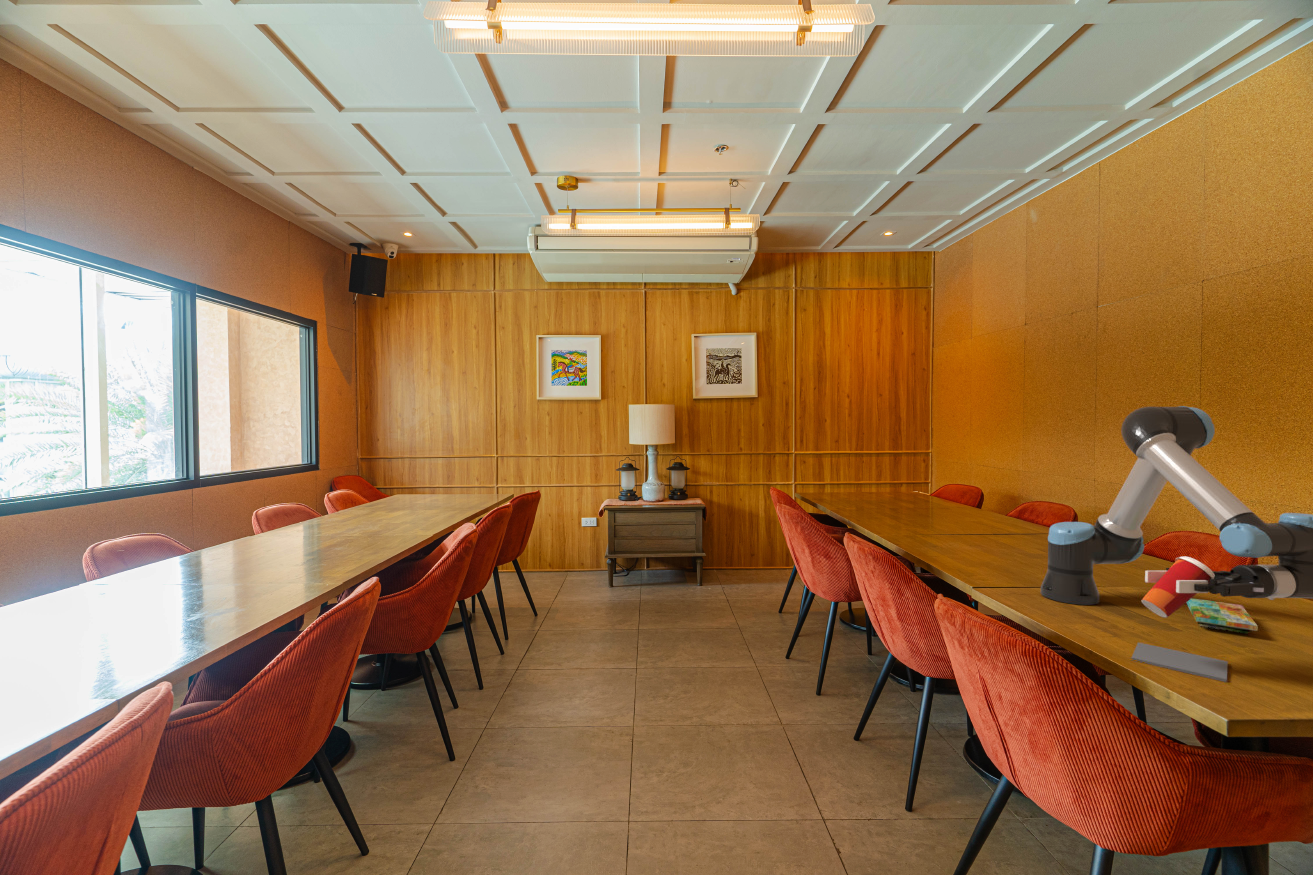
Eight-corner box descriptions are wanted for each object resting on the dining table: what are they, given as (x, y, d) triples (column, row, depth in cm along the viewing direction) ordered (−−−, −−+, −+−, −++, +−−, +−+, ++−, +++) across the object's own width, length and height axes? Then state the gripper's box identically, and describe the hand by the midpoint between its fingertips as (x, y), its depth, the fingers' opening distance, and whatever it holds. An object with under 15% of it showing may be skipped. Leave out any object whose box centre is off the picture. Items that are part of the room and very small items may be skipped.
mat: (1131, 659, 136) (1131, 657, 136) (1138, 644, 146) (1138, 642, 146) (1226, 682, 125) (1226, 679, 125) (1227, 663, 134) (1227, 661, 134)
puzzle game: (1241, 602, 165) (1258, 622, 149) (1241, 618, 165) (1257, 640, 149) (1186, 594, 172) (1196, 613, 156) (1185, 610, 172) (1195, 630, 156)
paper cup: (1159, 619, 138) (1202, 578, 138) (1179, 623, 131) (1225, 579, 130) (1129, 594, 140) (1171, 554, 140) (1147, 596, 133) (1192, 553, 133)
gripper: (1308, 611, 125) (1202, 611, 125) (1216, 584, 146) (1125, 584, 146) (1309, 577, 125) (1203, 577, 125) (1217, 554, 145) (1126, 554, 145)
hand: (1161, 581), depth 135 cm, fingers closed on paper cup, 8 cm apart
